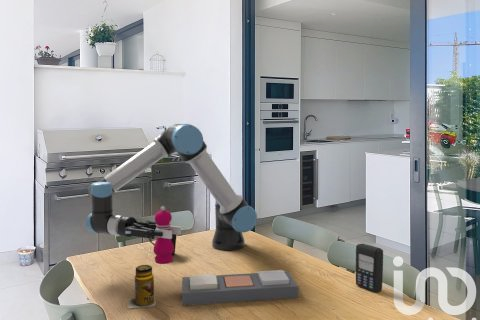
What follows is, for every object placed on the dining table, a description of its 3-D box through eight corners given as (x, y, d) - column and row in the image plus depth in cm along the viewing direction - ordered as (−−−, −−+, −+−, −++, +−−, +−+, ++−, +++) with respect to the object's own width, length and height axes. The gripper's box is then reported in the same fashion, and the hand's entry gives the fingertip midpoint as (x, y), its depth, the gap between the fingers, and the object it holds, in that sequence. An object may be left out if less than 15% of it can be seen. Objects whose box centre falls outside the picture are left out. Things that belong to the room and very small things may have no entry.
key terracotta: (224, 285, 151) (224, 276, 151) (249, 283, 152) (249, 275, 152) (226, 295, 142) (226, 286, 142) (253, 293, 143) (253, 285, 143)
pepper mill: (157, 266, 149) (155, 209, 147) (151, 260, 155) (150, 205, 154) (177, 262, 152) (176, 207, 151) (170, 257, 159) (169, 203, 157)
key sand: (189, 283, 149) (189, 275, 149) (215, 282, 151) (215, 273, 150) (190, 294, 141) (189, 285, 140) (217, 292, 142) (217, 283, 141)
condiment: (155, 306, 138) (154, 269, 137) (128, 309, 136) (127, 272, 135) (155, 297, 145) (153, 262, 144) (129, 299, 143) (127, 264, 142)
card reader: (353, 285, 152) (354, 244, 151) (360, 283, 155) (361, 242, 153) (375, 294, 145) (376, 250, 144) (383, 291, 147) (384, 248, 146)
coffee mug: (181, 253, 191) (180, 231, 190) (168, 258, 184) (167, 236, 183) (161, 249, 197) (161, 227, 196) (148, 254, 190) (147, 232, 189)
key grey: (258, 279, 152) (258, 271, 152) (283, 278, 153) (283, 270, 153) (262, 289, 143) (262, 280, 143) (289, 288, 145) (289, 279, 144)
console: (182, 288, 152) (182, 277, 151) (288, 281, 157) (288, 271, 156) (182, 305, 138) (182, 293, 138) (298, 297, 143) (298, 286, 142)
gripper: (138, 230, 169) (189, 236, 159) (106, 242, 153) (161, 250, 143) (138, 211, 168) (189, 216, 158) (105, 221, 152) (160, 228, 142)
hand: (175, 232), depth 151 cm, fingers closed on pepper mill, 5 cm apart
